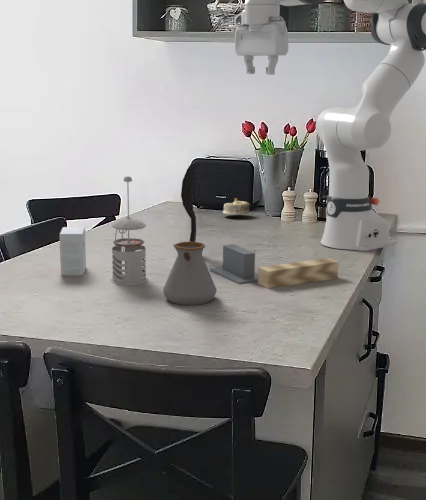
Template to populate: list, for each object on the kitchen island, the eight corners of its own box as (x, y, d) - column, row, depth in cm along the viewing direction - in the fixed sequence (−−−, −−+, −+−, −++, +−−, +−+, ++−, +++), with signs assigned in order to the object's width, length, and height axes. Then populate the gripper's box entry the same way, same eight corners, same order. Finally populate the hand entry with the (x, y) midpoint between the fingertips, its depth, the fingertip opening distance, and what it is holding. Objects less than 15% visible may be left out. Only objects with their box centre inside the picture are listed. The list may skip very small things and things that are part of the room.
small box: (63, 267, 188) (62, 226, 186) (86, 267, 189) (85, 226, 186) (60, 276, 181) (58, 233, 178) (83, 276, 181) (82, 233, 179)
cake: (255, 212, 263) (256, 197, 262) (241, 217, 255) (241, 201, 254) (231, 209, 268) (231, 194, 267) (216, 213, 260) (216, 198, 259)
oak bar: (327, 277, 184) (328, 257, 182) (337, 281, 180) (338, 261, 179) (257, 288, 174) (258, 267, 173) (267, 292, 171) (267, 271, 170)
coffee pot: (165, 294, 168) (165, 228, 164) (217, 295, 167) (217, 229, 164) (155, 326, 147) (155, 252, 143) (214, 328, 147) (215, 253, 143)
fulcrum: (237, 268, 190) (238, 241, 188) (267, 282, 178) (268, 253, 176) (210, 272, 186) (210, 244, 184) (238, 286, 174) (239, 257, 172)
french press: (116, 289, 171) (114, 180, 165) (100, 276, 181) (97, 173, 175) (156, 284, 175) (156, 177, 169) (138, 272, 185) (136, 171, 179)
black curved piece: (194, 258, 199) (194, 164, 193) (180, 257, 200) (180, 163, 194) (202, 251, 207) (202, 160, 201) (189, 250, 207) (189, 160, 201)
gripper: (295, 16, 181) (293, 75, 185) (251, 20, 199) (250, 73, 202) (273, 15, 178) (271, 74, 182) (230, 19, 196) (230, 73, 199)
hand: (260, 74), depth 192 cm, fingers open, 8 cm apart
